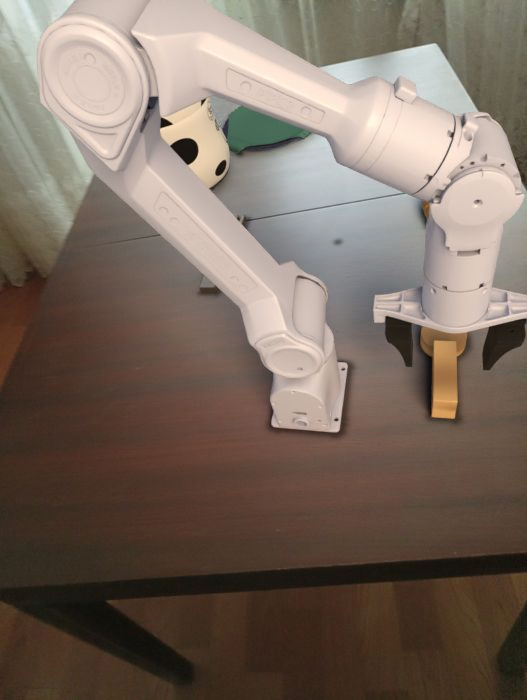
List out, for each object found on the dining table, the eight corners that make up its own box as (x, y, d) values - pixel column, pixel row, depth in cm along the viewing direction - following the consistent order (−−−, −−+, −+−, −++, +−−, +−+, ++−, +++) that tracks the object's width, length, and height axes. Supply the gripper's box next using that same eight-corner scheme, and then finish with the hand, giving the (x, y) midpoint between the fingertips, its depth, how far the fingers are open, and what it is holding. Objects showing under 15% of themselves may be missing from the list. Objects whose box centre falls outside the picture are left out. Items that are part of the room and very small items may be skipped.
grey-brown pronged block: (224, 292, 74) (221, 287, 73) (194, 292, 75) (191, 287, 74) (248, 220, 83) (246, 214, 82) (221, 221, 85) (219, 215, 84)
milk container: (246, 152, 96) (220, 53, 82) (218, 209, 87) (184, 109, 73) (167, 155, 102) (131, 63, 88) (133, 209, 92) (86, 116, 78)
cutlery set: (226, 113, 107) (223, 103, 105) (367, 83, 102) (366, 71, 101) (222, 165, 95) (219, 154, 93) (382, 133, 90) (382, 121, 88)
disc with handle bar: (420, 325, 63) (421, 306, 60) (464, 326, 61) (468, 307, 58) (418, 416, 55) (419, 399, 53) (468, 420, 54) (472, 402, 51)
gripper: (548, 233, 42) (518, 333, 53) (375, 238, 47) (379, 329, 57) (559, 294, 38) (525, 389, 49) (369, 294, 43) (375, 381, 53)
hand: (446, 361), depth 53 cm, fingers open, 7 cm apart
